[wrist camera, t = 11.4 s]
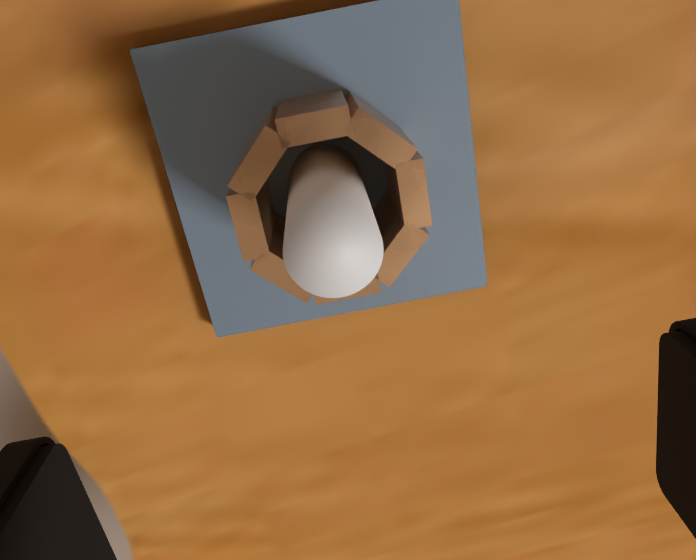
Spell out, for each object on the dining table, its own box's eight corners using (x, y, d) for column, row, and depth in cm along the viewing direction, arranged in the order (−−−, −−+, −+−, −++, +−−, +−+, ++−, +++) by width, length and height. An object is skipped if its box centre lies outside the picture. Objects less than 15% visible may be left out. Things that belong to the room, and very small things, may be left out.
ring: (394, 77, 25) (414, 91, 21) (418, 237, 28) (439, 281, 23) (226, 110, 25) (208, 131, 21) (265, 266, 28) (258, 316, 24)
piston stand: (451, -15, 25) (536, -31, 16) (482, 277, 30) (559, 392, 21) (135, 48, 25) (38, 68, 16) (219, 327, 30) (181, 463, 21)
